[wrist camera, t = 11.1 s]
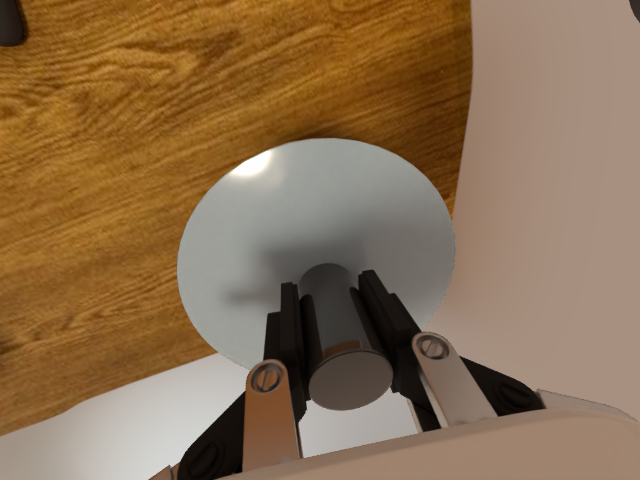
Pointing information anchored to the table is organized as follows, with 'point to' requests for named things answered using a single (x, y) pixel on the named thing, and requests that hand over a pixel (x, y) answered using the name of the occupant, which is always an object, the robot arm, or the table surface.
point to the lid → (316, 258)
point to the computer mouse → (9, 23)
